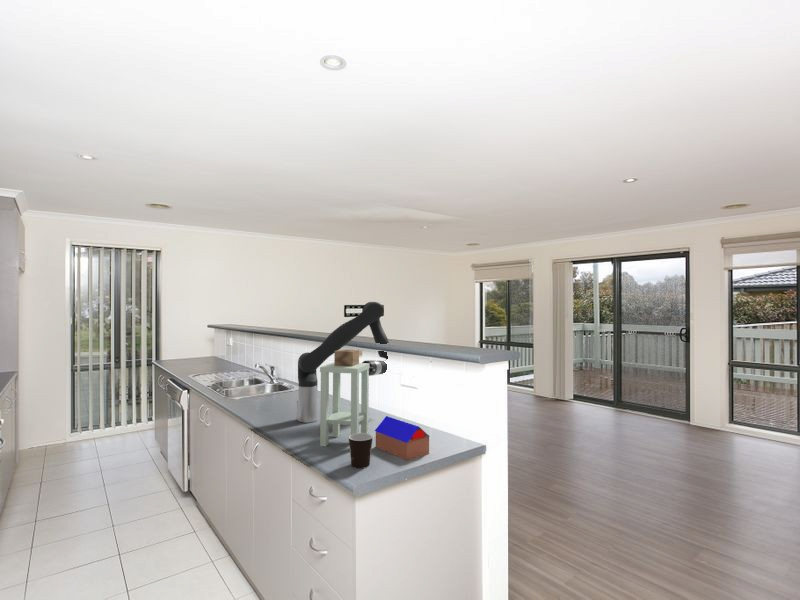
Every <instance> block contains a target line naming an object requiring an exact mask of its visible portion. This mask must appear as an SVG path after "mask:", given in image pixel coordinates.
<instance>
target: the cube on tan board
mask: <svg viewBox="0 0 800 600" xmlns="http://www.w3.org/2000/svg"><path fill="white" fill-rule="evenodd" d="M333 355H334V362H333V363H334V366H355V365H357V364H359V363H360V359H361V358H362V357H363V350H360V349H347V348H343V349H342V348H341V349H339V350H337V351H335V353H334V354H333Z"/></svg>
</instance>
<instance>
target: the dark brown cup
mask: <svg viewBox="0 0 800 600" xmlns="http://www.w3.org/2000/svg"><path fill="white" fill-rule="evenodd" d="M373 438H374V437H373V434H369V433H368V434H366V433H361V432H359V433H357V434H352V435H351V434H350V435H349V436H348V445H349V453H350V455H349V456H350V463H351V467H352V466H353V467H352V468H354V467H356V468H355V469H365V468H364V467H366V468H368V467H369V466H370V462H371V455H372V446H373Z"/></svg>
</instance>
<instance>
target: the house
mask: <svg viewBox="0 0 800 600" xmlns="http://www.w3.org/2000/svg"><path fill="white" fill-rule="evenodd" d="M374 432H375V448H377V447H378V449H379V448H380V449H379V450H382V451H384V450H385V451H384V452H386V451H387V453H388V454H391V455H394V456H396V457H398V458H401V459H403V460H405V461H410V460H413V459H416V458H419V457H422V456H425V455H426V456H427V455H428V454H430V435H429V434H428V433H426V431H425V430H424V429H423V428H421V427H420V426H419V425H415V424H413V423H409V422H406V421H403V420H400V419H397V418H393V417H390V416H387V415H386V416H385V417H384V418H383V420H382V421H381V422H380V423H379V424H378V425H377V427H376V428H375V429H374Z"/></svg>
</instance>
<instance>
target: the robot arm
mask: <svg viewBox="0 0 800 600" xmlns="http://www.w3.org/2000/svg"><path fill="white" fill-rule="evenodd" d="M384 309H385V308H384V305H383V304H381V303H380V302H376V301H368V302H367V303H365V304H364V305H363V308H362V312H361V313H359V314H358V315H357V316H355V317H354V318H351V319H349V320H347V321H346V322H343V324H340V325H339V326H338V327H337V328H336V329H334V330H333V331H332V332H331V333H330V334H328V336H327V337H326V338H325V339H324V341H323V342H322V343H321V344H320V345H319V346H317V347H316V348H315V349H314V350H311V351H310V352H304V353H302V354H301V355H300V356H299V358H298V360H297V381H298V383H297V384H298V393H297V394H298V397H297V398H298V400H297V401H296V420H297V421H298V422H300V423H307V424H308V423H314V422H317V421H318V385H319V384H318V383H319V382H318V374H317V369H318V368H320V367H321V366H322V364H323V363H325V361H326V360H328V358H330V357H331V356H332V355H334V353H335V351H337V350H341V349H342V348H343V347H345V346H346V345H347V344H348V343H350V342H351V341H352V340H353V339H354V338H356V336H357V335H359V334H360V333H361V332H362V331H363V330H365V329H366V328H367V327H368V326H369V328H370V331H371V333H372V337H373V340H374V343H380V344H387V343H389V344H390V342H389V338H388V336H387V335H386V334H387V333H385V331H384V329H383V326H382V323H381V320H380V318H381V317H382V316H383V315H384ZM377 353H378V357H379V358H383V359H385V360H387V359H388V356H387V352H384V351H377ZM385 360H375V359H371V360H370V359H369V360H364V361H362V362H361V363H370V368H369V377H370V376H378V375H384V374H383V373H385V372H386V370H387V364H386V363H385V362H384V361H385ZM359 374H361V372H360V373H359Z"/></svg>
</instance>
